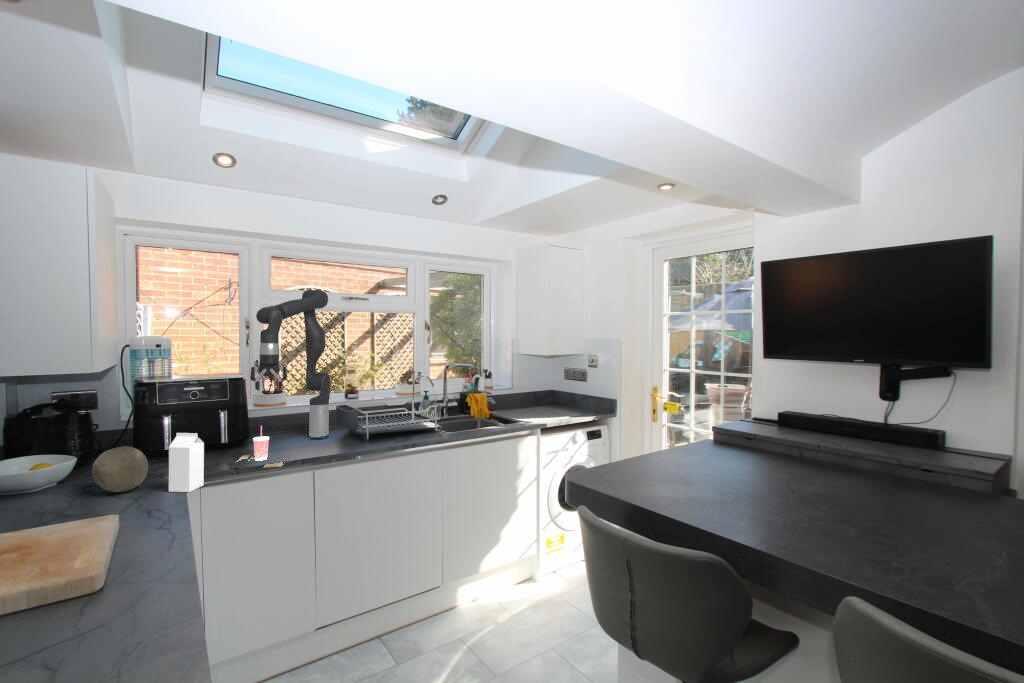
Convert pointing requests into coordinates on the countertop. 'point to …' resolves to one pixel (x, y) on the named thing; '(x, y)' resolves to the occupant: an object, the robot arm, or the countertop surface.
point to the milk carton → (186, 463)
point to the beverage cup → (261, 447)
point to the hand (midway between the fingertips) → (268, 390)
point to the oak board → (264, 465)
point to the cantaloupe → (120, 469)
